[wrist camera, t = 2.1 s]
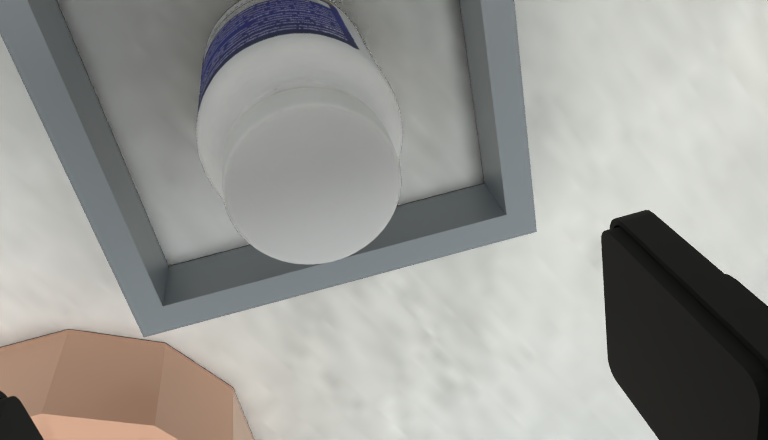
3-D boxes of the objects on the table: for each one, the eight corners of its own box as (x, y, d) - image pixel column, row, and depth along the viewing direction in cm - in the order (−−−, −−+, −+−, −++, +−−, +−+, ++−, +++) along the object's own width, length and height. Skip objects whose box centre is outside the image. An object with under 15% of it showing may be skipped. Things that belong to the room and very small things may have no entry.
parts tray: (-33, -114, 19) (-66, -106, 17) (463, -225, 20) (491, -231, 18) (150, 295, 26) (143, 337, 24) (512, 199, 27) (536, 231, 25)
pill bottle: (167, 71, 23) (135, 197, 15) (281, -52, 22) (308, 16, 14) (290, 173, 25) (316, 325, 17) (398, 67, 24) (476, 181, 16)
